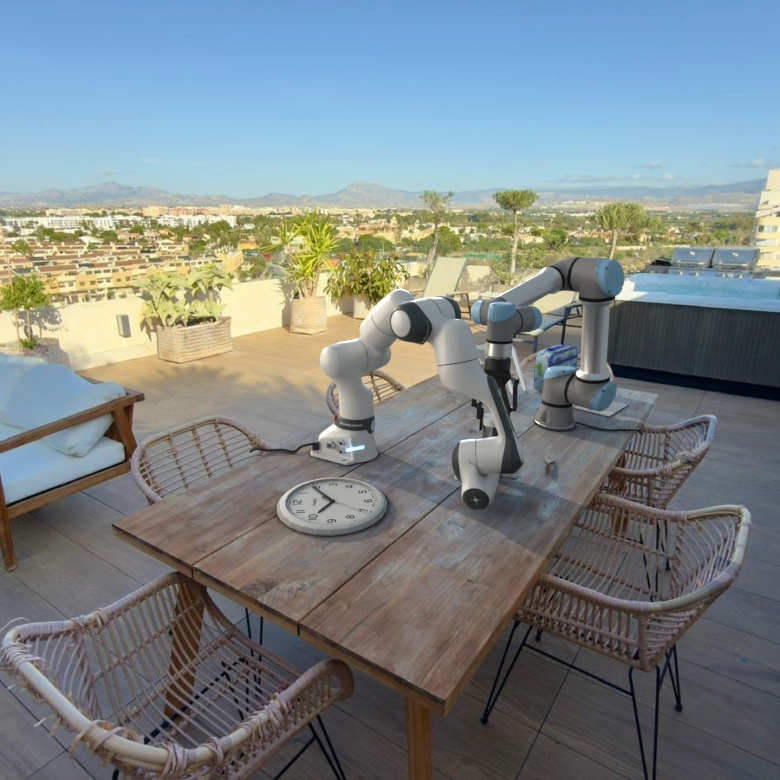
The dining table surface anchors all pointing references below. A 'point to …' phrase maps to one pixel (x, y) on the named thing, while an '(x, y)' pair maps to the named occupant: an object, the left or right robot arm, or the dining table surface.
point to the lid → (488, 420)
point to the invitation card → (609, 411)
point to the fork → (548, 462)
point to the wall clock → (331, 506)
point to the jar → (489, 432)
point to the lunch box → (553, 361)
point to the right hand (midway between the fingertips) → (492, 430)
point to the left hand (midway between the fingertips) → (490, 454)
